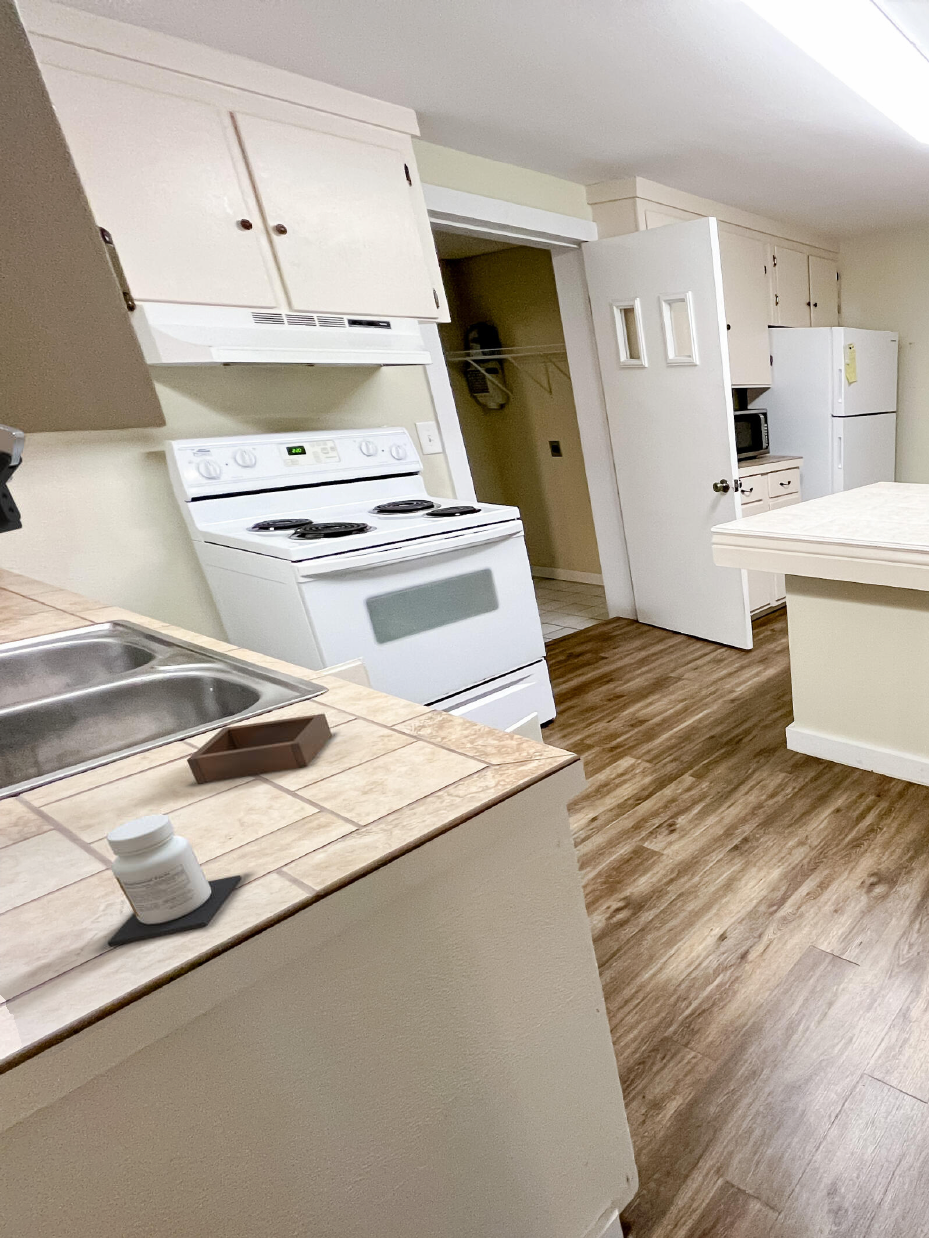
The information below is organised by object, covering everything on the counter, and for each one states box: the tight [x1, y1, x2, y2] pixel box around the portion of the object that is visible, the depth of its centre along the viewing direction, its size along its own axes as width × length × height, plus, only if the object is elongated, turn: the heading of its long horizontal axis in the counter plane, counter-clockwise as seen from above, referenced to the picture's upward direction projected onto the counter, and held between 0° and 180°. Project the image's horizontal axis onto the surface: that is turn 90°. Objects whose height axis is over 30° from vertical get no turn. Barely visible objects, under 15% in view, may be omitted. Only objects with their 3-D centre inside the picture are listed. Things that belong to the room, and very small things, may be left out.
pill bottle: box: [106, 814, 211, 924], centre depth 54 cm, size 4×4×8 cm
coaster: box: [106, 874, 242, 947], centre depth 56 cm, size 6×6×1 cm
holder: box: [186, 713, 333, 785], centre depth 79 cm, size 10×8×3 cm
